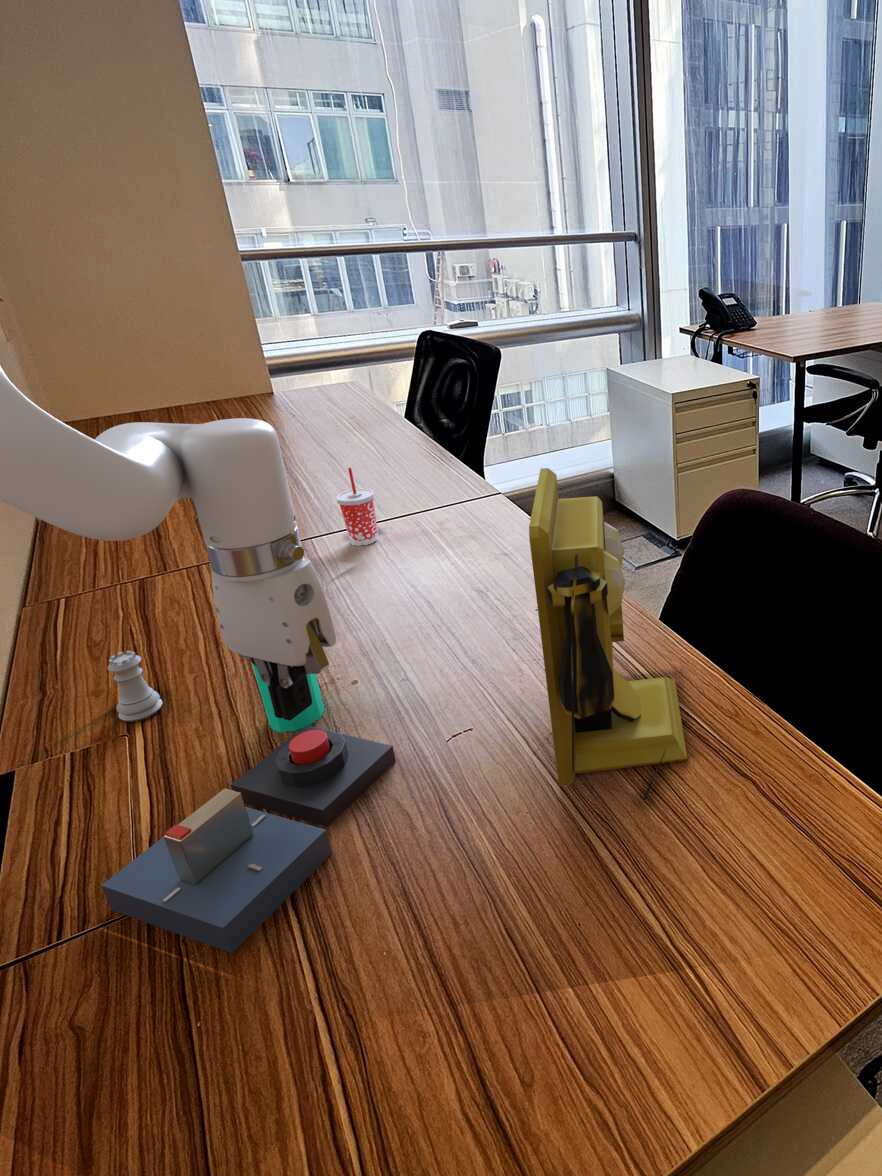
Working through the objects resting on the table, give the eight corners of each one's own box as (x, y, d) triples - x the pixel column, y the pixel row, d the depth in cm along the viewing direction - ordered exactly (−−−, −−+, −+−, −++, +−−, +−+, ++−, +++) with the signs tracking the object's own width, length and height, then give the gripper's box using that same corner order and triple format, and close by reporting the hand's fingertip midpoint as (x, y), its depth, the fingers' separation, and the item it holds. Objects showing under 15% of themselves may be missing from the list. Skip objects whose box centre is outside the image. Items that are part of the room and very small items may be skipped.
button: (284, 761, 81) (280, 748, 81) (311, 739, 84) (307, 726, 84) (311, 768, 80) (307, 755, 80) (337, 746, 83) (334, 733, 83)
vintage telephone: (697, 825, 77) (688, 556, 66) (555, 844, 75) (520, 569, 64) (670, 653, 106) (660, 444, 95) (566, 663, 104) (543, 451, 93)
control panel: (111, 910, 69) (100, 884, 68) (221, 820, 79) (213, 796, 77) (232, 953, 65) (222, 926, 64) (332, 853, 75) (325, 828, 73)
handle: (238, 829, 73) (223, 785, 71) (254, 834, 73) (240, 790, 71) (178, 879, 68) (161, 833, 66) (195, 885, 68) (179, 839, 66)
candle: (309, 695, 98) (287, 612, 93) (334, 712, 95) (313, 627, 90) (259, 720, 93) (234, 634, 89) (284, 739, 90) (259, 651, 85)
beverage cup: (365, 549, 137) (350, 475, 132) (338, 545, 139) (322, 471, 134) (390, 536, 142) (376, 464, 137) (363, 531, 144) (349, 460, 139)
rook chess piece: (163, 715, 94) (144, 659, 91) (118, 728, 92) (97, 671, 89) (163, 696, 98) (145, 642, 95) (120, 709, 95) (99, 653, 92)
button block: (235, 801, 81) (225, 770, 80) (310, 740, 90) (303, 712, 88) (327, 827, 78) (319, 796, 76) (396, 761, 86) (390, 732, 85)
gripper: (349, 545, 75) (380, 704, 81) (230, 525, 79) (268, 677, 85) (286, 579, 68) (324, 749, 75) (159, 555, 72) (206, 718, 79)
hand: (294, 710), depth 80 cm, fingers closed
